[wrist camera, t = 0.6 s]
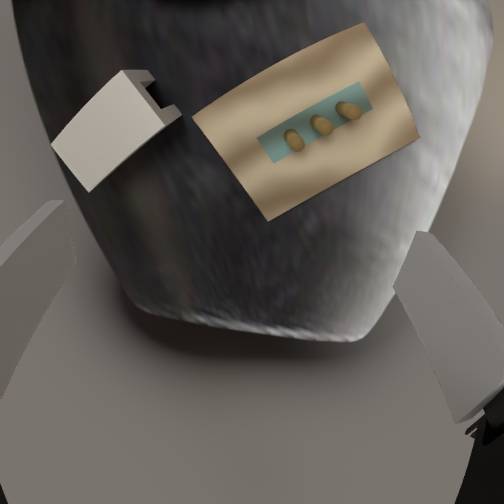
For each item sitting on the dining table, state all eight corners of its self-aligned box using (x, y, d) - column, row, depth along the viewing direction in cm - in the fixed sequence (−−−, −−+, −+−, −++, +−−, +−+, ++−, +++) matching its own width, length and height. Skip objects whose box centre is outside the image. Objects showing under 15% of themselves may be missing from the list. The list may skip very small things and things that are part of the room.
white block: (83, 129, 28) (50, 144, 22) (147, 69, 25) (121, 70, 19) (115, 169, 31) (89, 192, 25) (182, 114, 28) (165, 125, 22)
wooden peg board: (194, 115, 28) (183, 123, 24) (358, 24, 22) (379, 16, 18) (267, 215, 35) (270, 240, 30) (413, 134, 29) (439, 147, 24)
